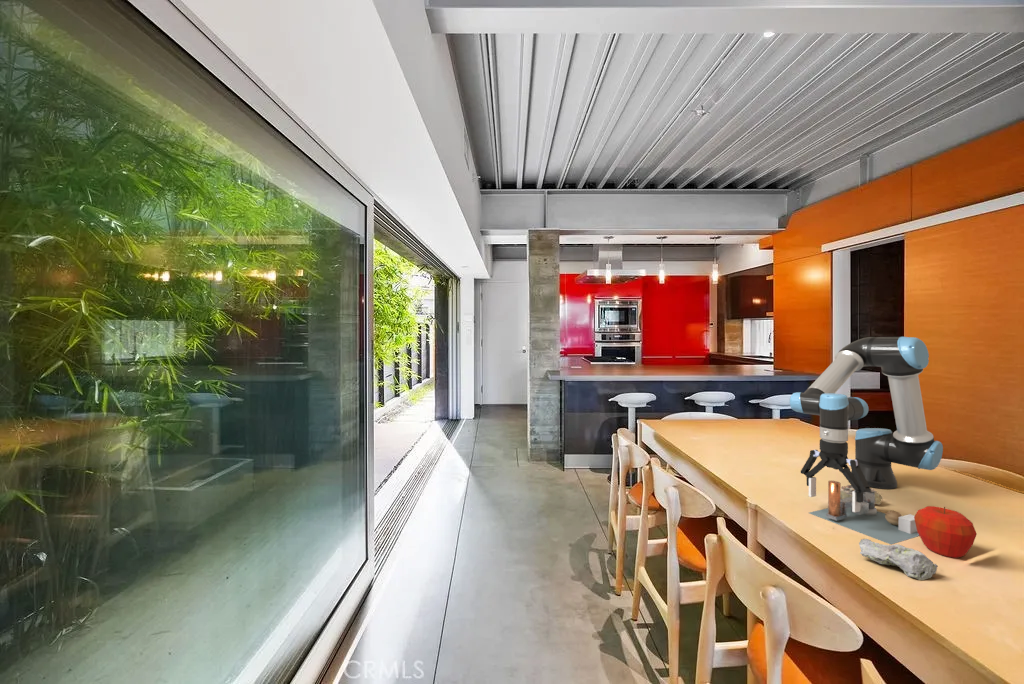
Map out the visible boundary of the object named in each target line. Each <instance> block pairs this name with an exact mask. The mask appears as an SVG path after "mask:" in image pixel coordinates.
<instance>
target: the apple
mask: <svg viewBox="0 0 1024 684" xmlns="http://www.w3.org/2000/svg"><path fill="white" fill-rule="evenodd" d="M914 519H915V524H916V528H917V532H918V534H919V536H918V537H920V539H921V541H922V544H923V545H924V546H925V547H926V548H928V550H929V551H931V552H933V553H935V554H937V555H940V556H942V557H946V558H952V559H955V558H961V557H964V556H966V555H967V553H968V552H969V551H970V549H971V547H973V545H974V543H975V539H976V537H977V535H978V534H977V531H976V529H975V526H974V524H973V522H972V521H971V520H970V519H969V518H968V517H967V516H965V515H964V514H963V513H961V512H959V511H957V510H953V509H949V508H946V506H943V507H939V506H934V505H931V506H930V505H928V506H926V507H923V508H920V509H918V510H917V511H916V513H915V515H914Z"/></svg>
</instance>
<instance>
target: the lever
mask: <svg viewBox="0 0 1024 684" xmlns="http://www.w3.org/2000/svg"><path fill="white" fill-rule="evenodd" d="M827 487H828V488H827V489H828V491H827V492H828V493H827V494H828V498H827V499H828V502H827V503H828V513H826V517H828V518H830V519H833V520H836V521H837V520H841V519H845V518H847V514H846V508H850V507H851V512H852V497H848V498H844V499H842V498H840V489H841V488H842V486H841V482H840V481H836V480H828V486H827ZM875 505H876V504H875V493H874V492H872V491H869V492H864V493H863V502H861V503H860V511H859V512H853V513H856V514H858V515H861V514H865V513H868V512H869V509H874V508H876V506H875Z"/></svg>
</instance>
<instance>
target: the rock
mask: <svg viewBox="0 0 1024 684" xmlns="http://www.w3.org/2000/svg"><path fill="white" fill-rule="evenodd" d="M870 489H871V491H872V492H874V493H875V505H881V504H882V500H883V496H882V494H880V493H879V492H877V491H876V490H875V488H872V487H870ZM852 491H855V490H854V488H853V487H852V486H851V484H848V485H846V486H845V485H843V486H841V489H840V499H844V498H848V497H852Z"/></svg>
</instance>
